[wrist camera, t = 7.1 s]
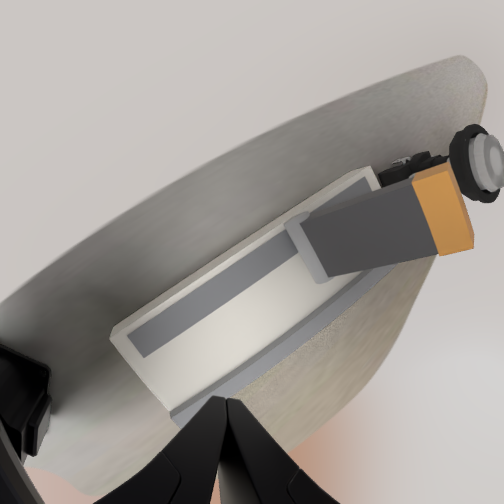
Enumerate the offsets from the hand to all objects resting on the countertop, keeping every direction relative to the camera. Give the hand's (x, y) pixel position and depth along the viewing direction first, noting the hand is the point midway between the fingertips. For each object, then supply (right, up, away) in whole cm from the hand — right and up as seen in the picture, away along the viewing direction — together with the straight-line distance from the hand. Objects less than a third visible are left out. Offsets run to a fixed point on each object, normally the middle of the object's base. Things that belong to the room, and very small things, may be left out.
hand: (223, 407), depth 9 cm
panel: (+2, +2, +13) cm, 14 cm away
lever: (+4, +5, +10) cm, 12 cm away
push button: (+14, +11, +17) cm, 25 cm away
